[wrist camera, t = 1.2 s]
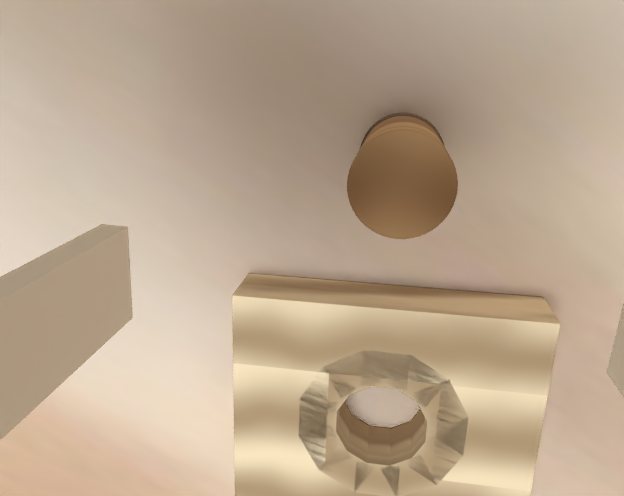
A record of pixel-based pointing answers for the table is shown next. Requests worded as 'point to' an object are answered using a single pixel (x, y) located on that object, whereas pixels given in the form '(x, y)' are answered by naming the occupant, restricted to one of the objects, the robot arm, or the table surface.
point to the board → (389, 374)
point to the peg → (402, 178)
